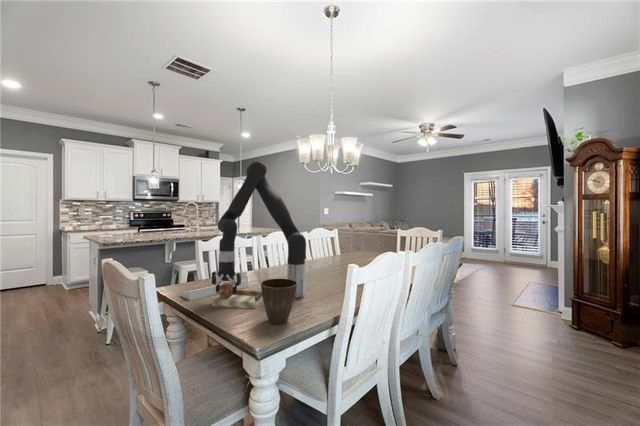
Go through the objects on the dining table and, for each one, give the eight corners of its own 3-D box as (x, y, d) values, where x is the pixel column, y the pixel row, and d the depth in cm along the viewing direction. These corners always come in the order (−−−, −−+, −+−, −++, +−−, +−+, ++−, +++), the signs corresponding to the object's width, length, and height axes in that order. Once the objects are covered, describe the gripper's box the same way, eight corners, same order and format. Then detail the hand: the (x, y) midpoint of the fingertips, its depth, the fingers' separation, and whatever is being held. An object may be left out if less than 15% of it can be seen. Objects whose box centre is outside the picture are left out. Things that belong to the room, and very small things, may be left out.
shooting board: (262, 300, 149) (262, 291, 149) (255, 308, 138) (256, 297, 138) (222, 298, 151) (222, 288, 151) (212, 306, 140) (212, 295, 140)
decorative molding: (181, 302, 153) (190, 301, 147) (180, 292, 154) (189, 291, 148) (239, 288, 179) (248, 287, 173) (238, 280, 180) (247, 279, 173)
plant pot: (283, 311, 135) (283, 276, 135) (303, 322, 124) (304, 283, 123) (253, 319, 125) (254, 281, 125) (272, 331, 114) (273, 290, 114)
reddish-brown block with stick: (233, 294, 149) (233, 282, 148) (223, 302, 137) (223, 289, 136) (225, 294, 149) (225, 282, 149) (214, 302, 137) (214, 289, 137)
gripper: (243, 259, 148) (243, 292, 148) (215, 257, 149) (215, 290, 150) (238, 262, 140) (237, 296, 141) (208, 260, 142) (208, 295, 142)
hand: (226, 293), depth 145 cm, fingers open, 7 cm apart
